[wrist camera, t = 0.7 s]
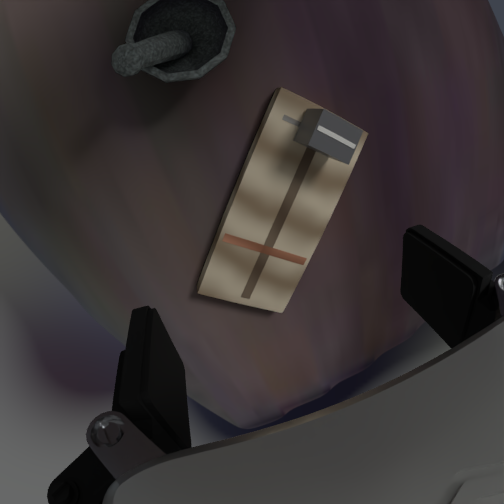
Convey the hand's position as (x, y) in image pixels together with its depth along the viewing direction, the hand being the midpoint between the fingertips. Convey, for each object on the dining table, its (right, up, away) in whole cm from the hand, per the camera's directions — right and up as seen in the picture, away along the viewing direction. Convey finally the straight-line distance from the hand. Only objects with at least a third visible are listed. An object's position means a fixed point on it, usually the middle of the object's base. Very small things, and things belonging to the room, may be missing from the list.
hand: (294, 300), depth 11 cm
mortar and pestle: (-10, +23, +17) cm, 30 cm away
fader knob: (+6, +15, +22) cm, 27 cm away
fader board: (+2, +7, +27) cm, 28 cm away
